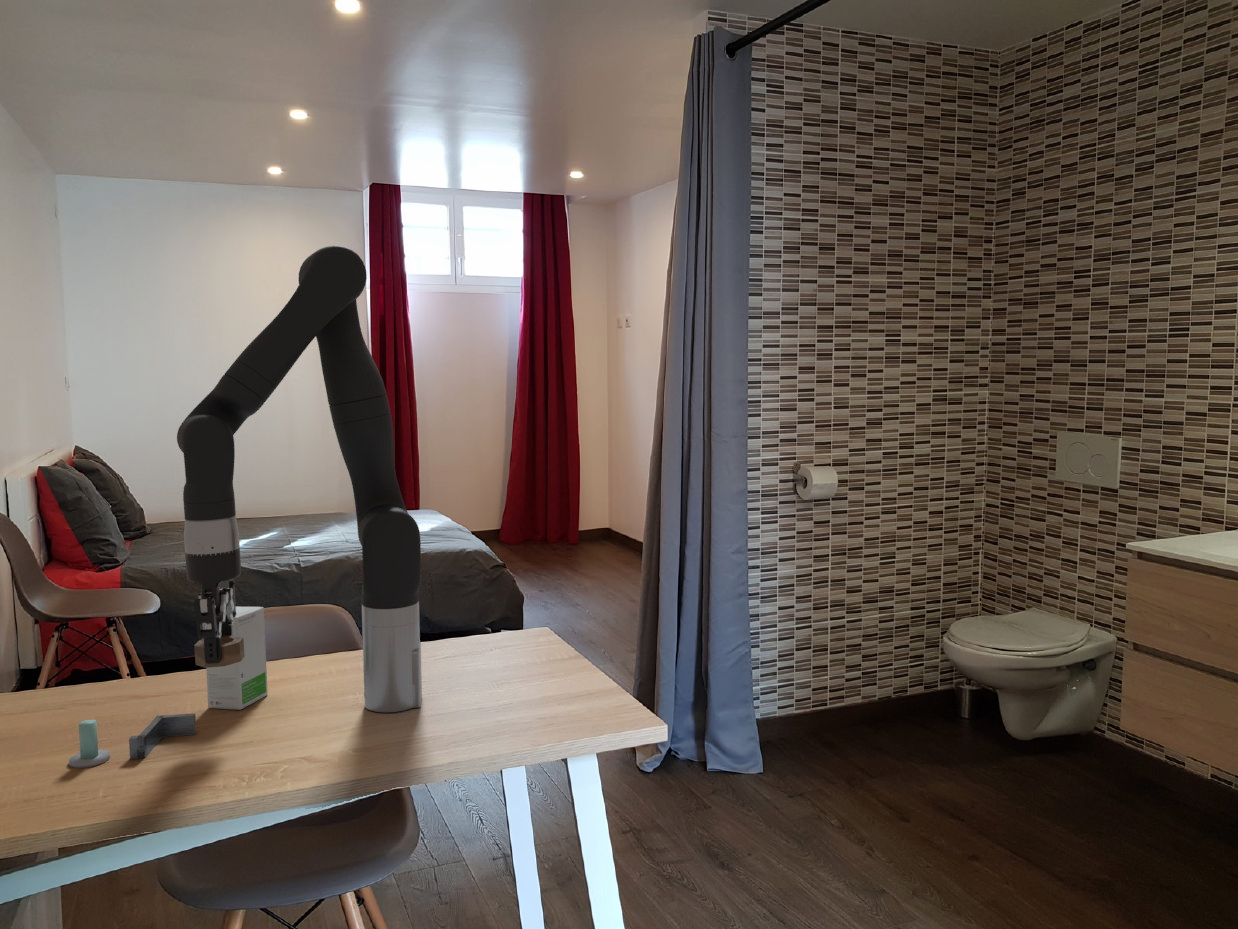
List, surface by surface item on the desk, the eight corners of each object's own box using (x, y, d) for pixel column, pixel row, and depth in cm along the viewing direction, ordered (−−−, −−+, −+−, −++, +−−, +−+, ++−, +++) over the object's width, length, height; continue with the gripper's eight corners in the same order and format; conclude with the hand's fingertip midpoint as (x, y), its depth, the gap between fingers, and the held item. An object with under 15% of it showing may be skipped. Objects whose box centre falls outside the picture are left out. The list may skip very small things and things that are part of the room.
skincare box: (240, 711, 149) (236, 618, 148) (204, 708, 151) (200, 616, 149) (269, 694, 157) (266, 605, 156) (235, 691, 159) (231, 604, 157)
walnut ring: (247, 652, 142) (246, 634, 142) (237, 665, 136) (236, 645, 136) (203, 656, 141) (202, 637, 141) (192, 668, 135) (190, 649, 134)
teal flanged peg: (115, 752, 133) (113, 715, 132) (101, 766, 128) (99, 727, 127) (77, 754, 132) (75, 717, 131) (63, 769, 127) (60, 730, 126)
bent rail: (196, 732, 140) (195, 713, 140) (178, 755, 131) (177, 735, 131) (150, 735, 139) (150, 716, 139) (130, 759, 130) (128, 738, 130)
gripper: (227, 555, 130) (234, 668, 132) (249, 537, 144) (256, 640, 146) (171, 558, 129) (179, 673, 131) (199, 540, 143) (206, 644, 145)
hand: (219, 655), depth 138 cm, fingers closed on walnut ring, 6 cm apart
